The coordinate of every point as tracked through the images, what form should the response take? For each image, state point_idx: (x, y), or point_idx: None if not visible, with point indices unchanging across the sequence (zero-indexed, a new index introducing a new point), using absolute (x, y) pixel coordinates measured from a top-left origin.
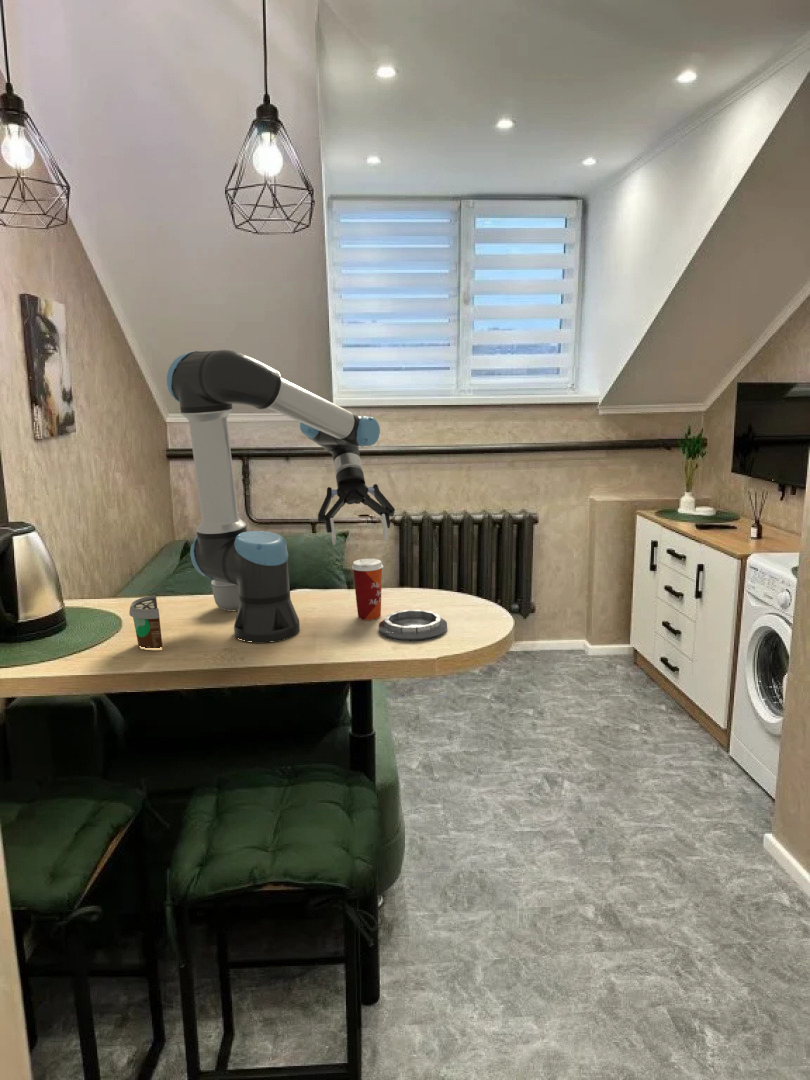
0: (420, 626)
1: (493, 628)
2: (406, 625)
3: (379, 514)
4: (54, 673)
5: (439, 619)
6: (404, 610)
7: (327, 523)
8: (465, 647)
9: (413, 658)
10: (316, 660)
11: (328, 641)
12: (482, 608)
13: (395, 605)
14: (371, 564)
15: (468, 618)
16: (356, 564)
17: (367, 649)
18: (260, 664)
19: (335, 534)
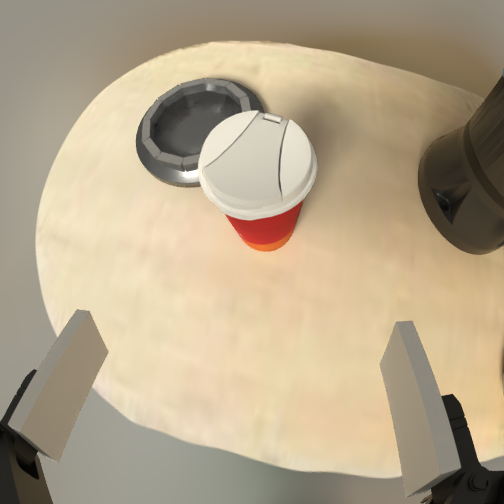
0: (197, 81)
1: (89, 120)
2: (210, 121)
3: (46, 491)
4: None
5: (153, 105)
6: (192, 163)
7: (463, 438)
8: (160, 63)
9: (239, 42)
10: (373, 65)
11: (361, 116)
12: (51, 215)
13: (184, 292)
14: (247, 116)
15: (92, 167)
16: (302, 130)
17: (298, 73)
18: (441, 82)
19: (405, 347)
